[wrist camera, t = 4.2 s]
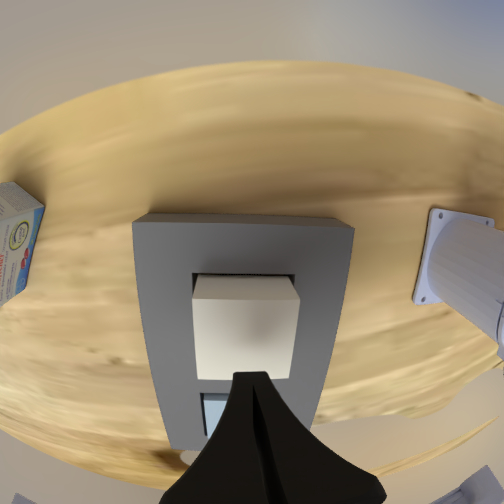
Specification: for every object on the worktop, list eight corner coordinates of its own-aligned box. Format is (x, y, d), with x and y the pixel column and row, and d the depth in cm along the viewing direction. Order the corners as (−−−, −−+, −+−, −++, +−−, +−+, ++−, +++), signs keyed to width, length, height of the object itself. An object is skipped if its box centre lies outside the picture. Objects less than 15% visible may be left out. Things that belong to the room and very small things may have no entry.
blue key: (270, 372, 20) (276, 399, 17) (265, 412, 22) (269, 437, 19) (205, 373, 20) (203, 400, 17) (208, 412, 21) (208, 438, 18)
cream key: (287, 276, 16) (300, 299, 13) (279, 347, 17) (288, 378, 14) (198, 274, 15) (192, 298, 12) (201, 347, 17) (197, 379, 14)
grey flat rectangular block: (335, 218, 18) (354, 228, 15) (297, 424, 23) (303, 446, 20) (147, 213, 16) (132, 222, 14) (175, 425, 22) (171, 448, 19)
